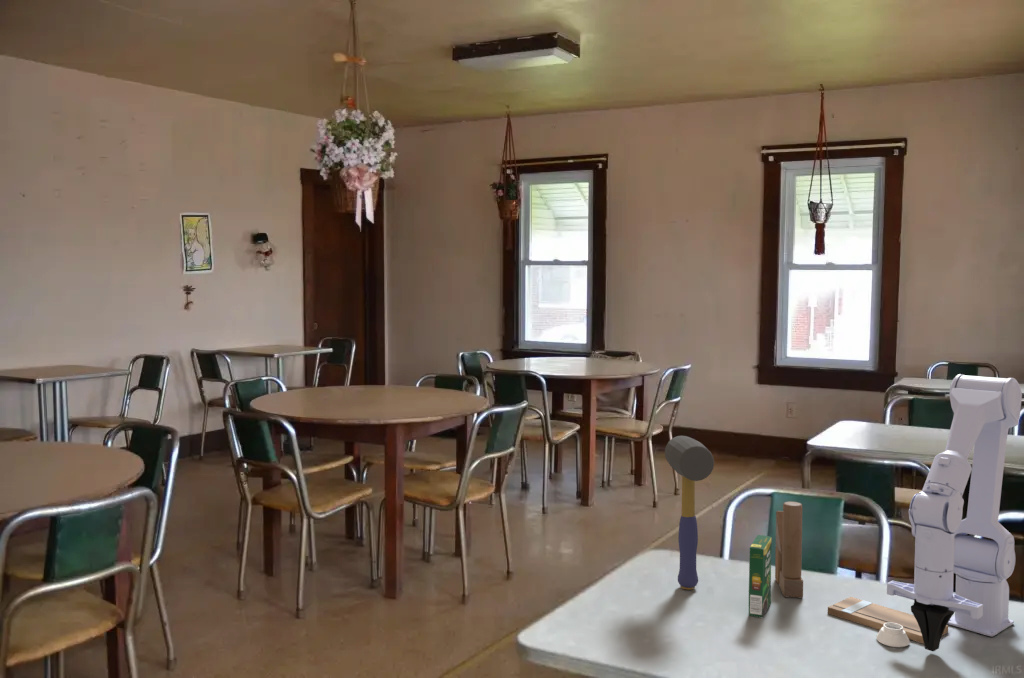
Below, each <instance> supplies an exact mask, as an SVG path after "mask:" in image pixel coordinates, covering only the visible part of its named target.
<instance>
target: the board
mask: <svg viewBox="0 0 1024 678" xmlns="http://www.w3.org/2000/svg"><path fill="white" fill-rule="evenodd" d="M827 614H829V615H832V616H835V617H838V618H840V619H844V620H847V621H850V622H854V623H857V624H859V625H862V626H865V627H869V628H873V629H875V630H878V631H880V629H881V628H882V627H883V624H884V623H889V622H891V623H897V624H900V625H902V626H903V630H904V631H905V632H906V634H907V637H908V639H909V641H910V640H911V641H915V642H917V643H920V644H923V645H924V641H923V637H922V633H921V630H920V627H919V625H918V623H917V620H916V618H915V617H914V615H913V614H911V613H908V612H904V611H900V610H898V609H894V608H890V607H888V606H884V605H880V604H877V603H873V602H870V601H868V600H864V599H859V598H856V597H853V596H849V597H847V598H845V599H842V600H840V601H838V602H836V603H834V604H831V605H829V606H827ZM947 633H949V624H947V625H946V627H945V629H944V632H943V634H942V636H944V635H946V634H947Z"/></svg>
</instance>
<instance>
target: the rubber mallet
mask: <svg viewBox="0 0 1024 678" xmlns="http://www.w3.org/2000/svg"><path fill="white" fill-rule="evenodd" d="M664 457H665V459H666V461H667V463H668V464H669V466H670V468H672V469H673V470H674V471H675V472H676V474H679V475H680V476H681V478H682V479H681V516H680V519H679V526H678V535H677V536H678V538H677V539H678V541H677V542H678V548H679V571H678V575H677V583H678V584H679V587H680V588H681V589H683V590H689V591H691V590H695V589H696V586H698V582H699V576H698V572H697V553H698V552H697V551H698V546H699V545H698V543H699V530H698V528H699V527H698V521H697V517H696V513H695V512H696V510H695V509H696V505H695V503H696V500H695V499H696V495H695V491H696V490H695V489H696V487H695V484H696V483H695V482H698V481H699V482H700V481H702V480H705V479H707V478H708V477H709V476H710V475H711V474H712V472H713V470H714V466H715V459H714V456H713V454H712V452H711V451H710V450H709V449H708V447H706V446H705V445H704V444H703V443H702V442H700V441H698V440H696V439H695V438H692V437H690V436H687V435H677V436H675V437H672V438H671V439H670V440H669V441H668V442H667V443H666V446H665V448H664Z"/></svg>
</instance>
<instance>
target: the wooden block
mask: <svg viewBox="0 0 1024 678" xmlns="http://www.w3.org/2000/svg"><path fill="white" fill-rule="evenodd" d="M802 543H803V504H802V503H801V502H799V501H798V502H797V501H785V502H783V503H782V510H776V511H775V551H774V552H775V555H774V556H775V558H774V559H775V561H774V565H775V567H774V568H775V569H774V571H775V572H774V579H775V581H776V583H777V584H778V586H779V589H780V591H781V592H782V595H783V597H784V598H795V599H797V598H798V599H799V598H800V599H802V598H803V597H804V580H803V578H802V564H803V563H802V560H803V559H802V558H803V557H802V555H803V550H802V549H803V546H802V545H803V544H802Z"/></svg>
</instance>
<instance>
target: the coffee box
mask: <svg viewBox="0 0 1024 678" xmlns="http://www.w3.org/2000/svg"><path fill="white" fill-rule="evenodd" d="M772 541H773V540H772V536H769V535H763V534H762V535H761V534H757V535H756V536H755V538H754V540H753V541H752V543H751V545H750V546H749V557H748V559H749V561H748V562H749V564H748V571H749V573H748V616H749V617H755V618H761V619H762V618H764V616H765V615H766V613H767V610H768V609H769V607H770V605H771V603H772V595H771V593H772V585H771V584H772Z"/></svg>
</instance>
